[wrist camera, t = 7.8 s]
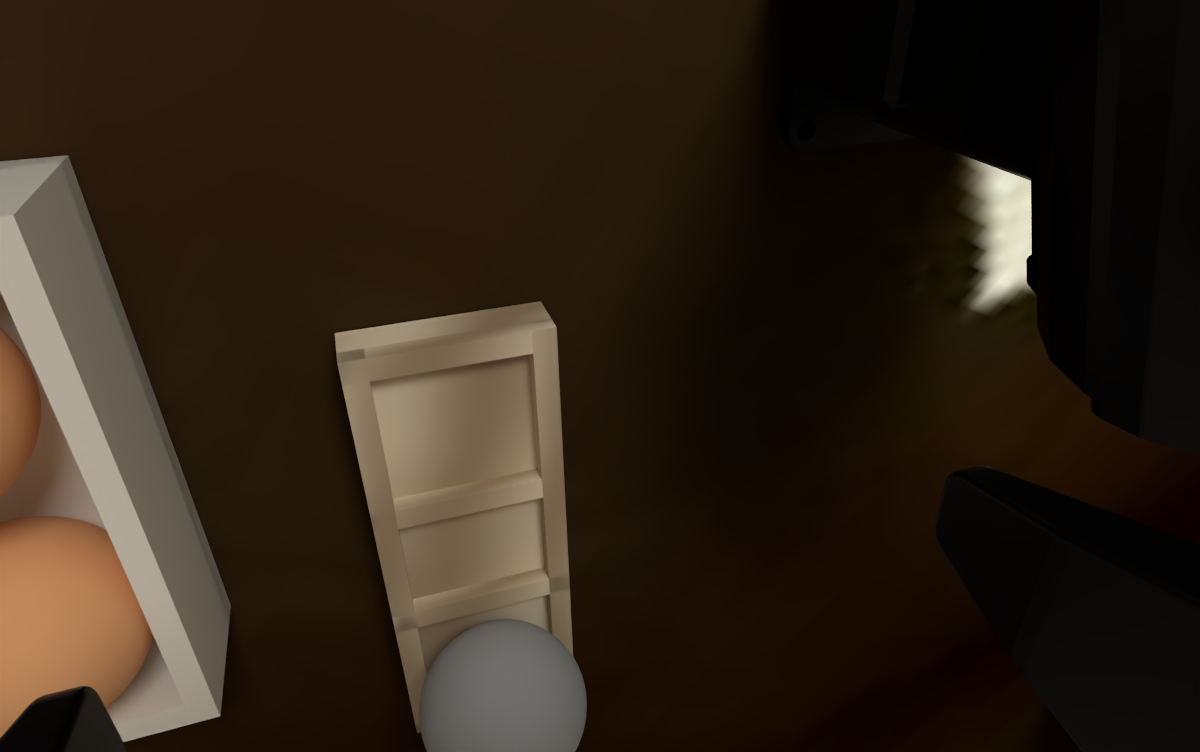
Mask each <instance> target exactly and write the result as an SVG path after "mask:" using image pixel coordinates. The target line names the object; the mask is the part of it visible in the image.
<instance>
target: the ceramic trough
mask: <svg viewBox="0 0 1200 752" xmlns="http://www.w3.org/2000/svg"><path fill="white" fill-rule="evenodd" d="M0 328H1V329H2V330H4V332H5V333H6V334H7V335H8V336H9V337H10V338H11V339H12V340H13V341H14V342H15V344H16V345H17V346H18V348H19V349H20V350H21V352H22V353H23V354H24V356H25V357H26V359H27V361H28V363H29V365H30V366H31V368H32V370H33V373H34V376H35V379H36V382H37V385H38V389H39V394H40V400H41V424H40V429H39V434H38V438H37V441H36V444H35V447H34V450H33V452H32V455H31V457H30V459H29V461H28V463H27V464H26V466H25V467H24V469H23V471H22V472H21V474H20V475H19V477H18V478H17V480H16V481H15V482H14V483H13V484H12V486H11V487H10V488H9V489H8V490H7V491H6V492H5V493H4V494H3V495H2V496H1V497H0V522H3V521H7V520H11V519H17V518H24V517H33V516H58V517H66V518H73V519H77V520H82V521H86V522H88V523H91V524H94V525H97V526H99V527H101V528H103V529H105V530H107V532H108V535H109V537H110V539H111V541H112V544H113V546H114V548H115V550H116V553H117V555H118V557H119V559H120V562H121V564H122V566H123V568H124V571H125V573H126V575H127V577H128V580H129V582H130V584H131V586H132V589H133V591H134V593H135V595H136V598H137V600H138V602H139V604H140V607H141V609H142V611H143V613H144V616H145V618H146V620H147V622H148V625H149V627H150V629H151V631H152V634H153V636H154V637H153V641H152V645H151V647H150V649H149V652H148V654H147V656H146V659H145V661H144V663H143V665H142V666H141V668H140V670H139V671H138V673H137V674H136V676H135V677H134V679H133V680H132V682H131V683H130V684H129V685H128V687H127V688H126V689H125V690H124V691H123V692H122V693H121V694H120V695H119V696H118V697H117V698H116V699H115V700H114V701H113V702H112V703H111V704H110V705H109V706H108V707H106V710H107V711H108V713H109V715H110V717H111V719H112V721H113V723H114V725H115V727H116V729H117V731H118V732H119V734H120V736H121V738H122V741H123V742H126V741H129V740H133V739H137V738H141V737H144V736H148V735H152V734H156V733H159V732H163V731H167V730H171V729H174V728H178V727H182V726H186V725H190V724H193V723H197V722H201V721H205V720H208V719H212V718H216V717H220V714H221V704H222V693H223V683H224V672H225V661H226V651H227V640H228V630H229V619H230V609H231V605H230V602H229V599H228V596H227V594H226V591H225V588H224V585H223V583H222V580H221V577H220V574H219V571H218V569H217V566H216V563H215V560H214V558H213V555H212V552H211V549H210V547H209V544H208V541H207V538H206V535H205V533H204V530H203V527H202V524H201V522H200V519H199V516H198V513H197V511H196V508H195V505H194V502H193V500H192V497H191V494H190V491H189V488H188V486H187V483H186V480H185V477H184V475H183V472H182V469H181V466H180V464H179V461H178V458H177V455H176V452H175V450H174V447H173V444H172V441H171V439H170V436H169V433H168V430H167V428H166V425H165V422H164V419H163V417H162V414H161V411H160V408H159V405H158V403H157V400H156V397H155V394H154V392H153V389H152V386H151V383H150V381H149V378H148V375H147V372H146V369H145V367H144V364H143V361H142V358H141V356H140V353H139V350H138V347H137V345H136V342H135V339H134V336H133V333H132V331H131V328H130V325H129V322H128V320H127V317H126V314H125V311H124V309H123V306H122V303H121V300H120V298H119V295H118V292H117V289H116V286H115V284H114V281H113V278H112V275H111V273H110V270H109V267H108V264H107V262H106V259H105V256H104V253H103V250H102V248H101V245H100V242H99V239H98V237H97V234H96V231H95V228H94V226H93V223H92V220H91V217H90V215H89V212H88V209H87V206H86V203H85V201H84V198H83V195H82V192H81V190H80V187H79V184H78V181H77V179H76V176H75V173H74V170H73V167H72V165H71V162H70V159H69V156H68V155H67V156H56V157H45V158H34V159H23V160H12V161H1V162H0Z"/></svg>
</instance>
